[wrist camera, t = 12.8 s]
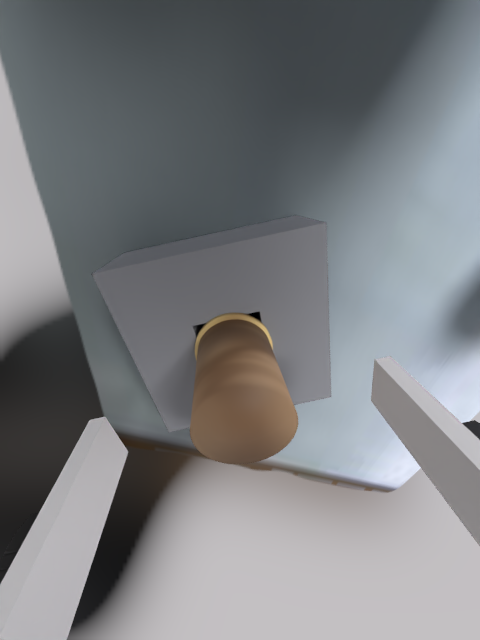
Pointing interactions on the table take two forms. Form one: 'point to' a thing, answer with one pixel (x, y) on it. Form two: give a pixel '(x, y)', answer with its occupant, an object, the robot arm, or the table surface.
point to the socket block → (224, 305)
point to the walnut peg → (239, 393)
